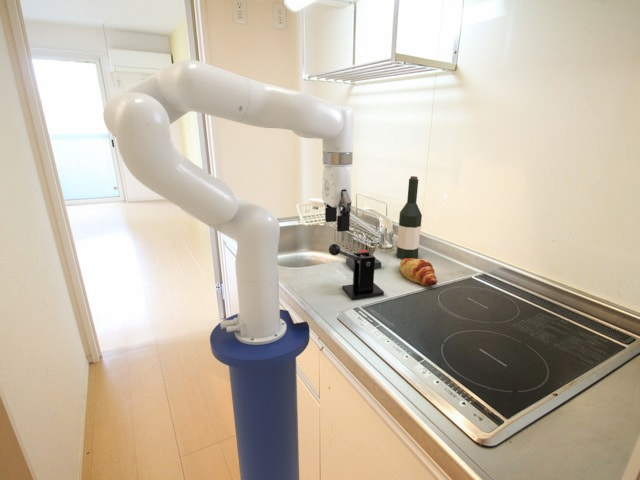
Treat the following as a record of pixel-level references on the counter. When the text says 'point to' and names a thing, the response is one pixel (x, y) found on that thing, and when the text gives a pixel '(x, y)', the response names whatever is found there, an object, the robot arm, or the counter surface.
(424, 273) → the croissant
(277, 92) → the robot arm
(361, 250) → the button
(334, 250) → the ball knob lever
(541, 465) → the counter surface
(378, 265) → the button housing
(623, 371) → the counter surface
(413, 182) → the wine bottle
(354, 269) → the lever bracket
